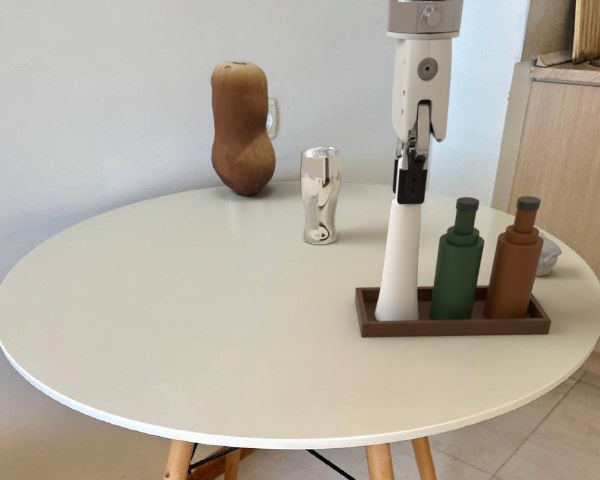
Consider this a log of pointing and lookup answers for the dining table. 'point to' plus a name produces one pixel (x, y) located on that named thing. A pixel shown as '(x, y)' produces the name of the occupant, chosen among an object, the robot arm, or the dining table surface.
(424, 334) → the tray
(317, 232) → the beer glass
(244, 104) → the butternut squash
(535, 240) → the amber bottle
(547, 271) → the frog figurine
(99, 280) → the dining table surface
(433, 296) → the green bottle
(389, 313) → the cosmetic bottle
